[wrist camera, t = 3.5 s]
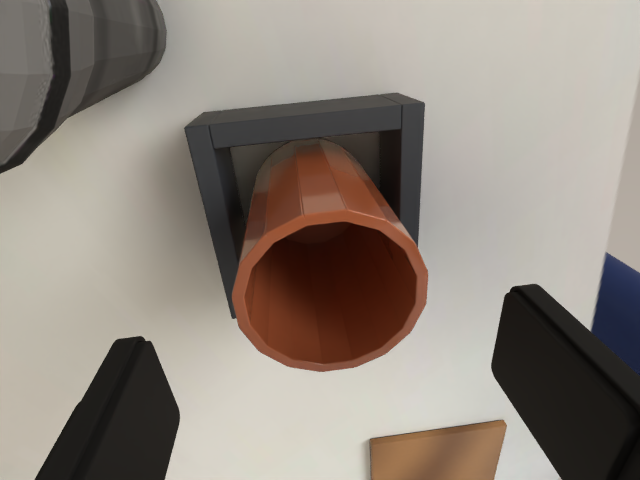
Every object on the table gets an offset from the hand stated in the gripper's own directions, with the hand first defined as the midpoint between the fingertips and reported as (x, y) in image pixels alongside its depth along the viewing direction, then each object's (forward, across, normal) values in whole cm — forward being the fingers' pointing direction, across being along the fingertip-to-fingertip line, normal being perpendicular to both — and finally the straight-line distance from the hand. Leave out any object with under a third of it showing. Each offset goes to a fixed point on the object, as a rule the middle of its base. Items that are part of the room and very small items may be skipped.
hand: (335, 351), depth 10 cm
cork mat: (+12, -9, +29) cm, 33 cm away
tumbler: (+12, 0, 0) cm, 12 cm away
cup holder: (+12, 0, 0) cm, 12 cm away
